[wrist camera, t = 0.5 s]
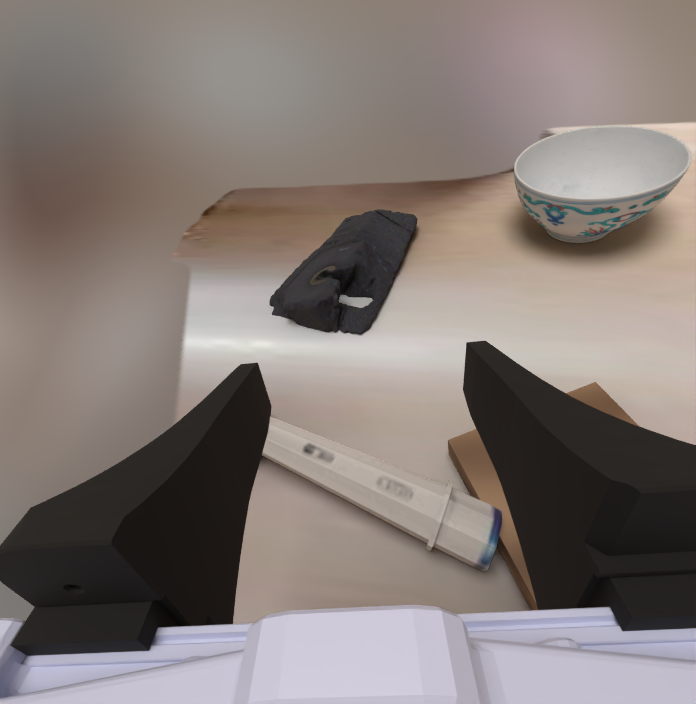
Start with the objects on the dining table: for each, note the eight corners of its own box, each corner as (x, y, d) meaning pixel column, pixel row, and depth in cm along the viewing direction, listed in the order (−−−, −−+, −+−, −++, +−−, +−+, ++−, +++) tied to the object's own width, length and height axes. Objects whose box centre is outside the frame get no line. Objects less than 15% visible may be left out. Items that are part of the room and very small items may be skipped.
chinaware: (645, 187, 43) (673, 116, 38) (670, 267, 35) (711, 192, 29) (510, 196, 49) (516, 135, 43) (504, 267, 41) (511, 204, 35)
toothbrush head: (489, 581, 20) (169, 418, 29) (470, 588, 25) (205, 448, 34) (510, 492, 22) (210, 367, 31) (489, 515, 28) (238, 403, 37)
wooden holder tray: (889, 725, 16) (944, 736, 14) (644, 825, 16) (668, 848, 14) (586, 399, 29) (595, 381, 27) (448, 454, 29) (447, 440, 27)
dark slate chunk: (438, 229, 49) (436, 196, 45) (361, 347, 39) (351, 316, 35) (345, 220, 56) (337, 191, 53) (260, 317, 46) (243, 289, 43)
